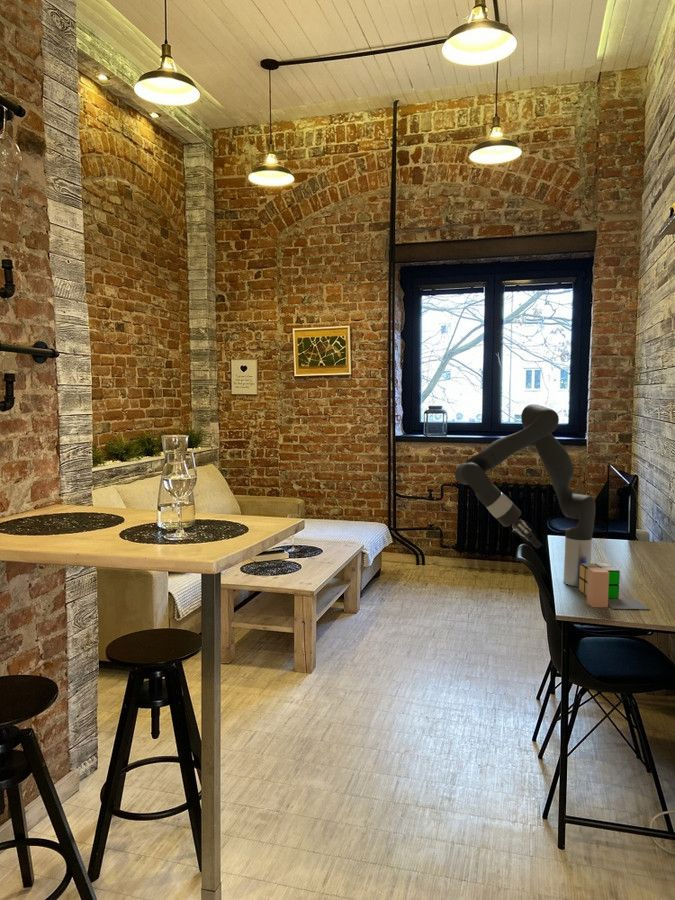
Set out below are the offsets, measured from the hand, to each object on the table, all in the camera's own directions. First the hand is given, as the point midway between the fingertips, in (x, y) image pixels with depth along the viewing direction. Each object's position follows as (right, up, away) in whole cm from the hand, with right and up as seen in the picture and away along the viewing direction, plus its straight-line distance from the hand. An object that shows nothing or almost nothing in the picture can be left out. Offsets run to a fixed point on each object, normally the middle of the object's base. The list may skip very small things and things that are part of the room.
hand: (539, 546), depth 212 cm
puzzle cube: (+25, -19, +13) cm, 34 cm away
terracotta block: (+19, -20, +1) cm, 28 cm away
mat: (+29, -20, +2) cm, 35 cm away
